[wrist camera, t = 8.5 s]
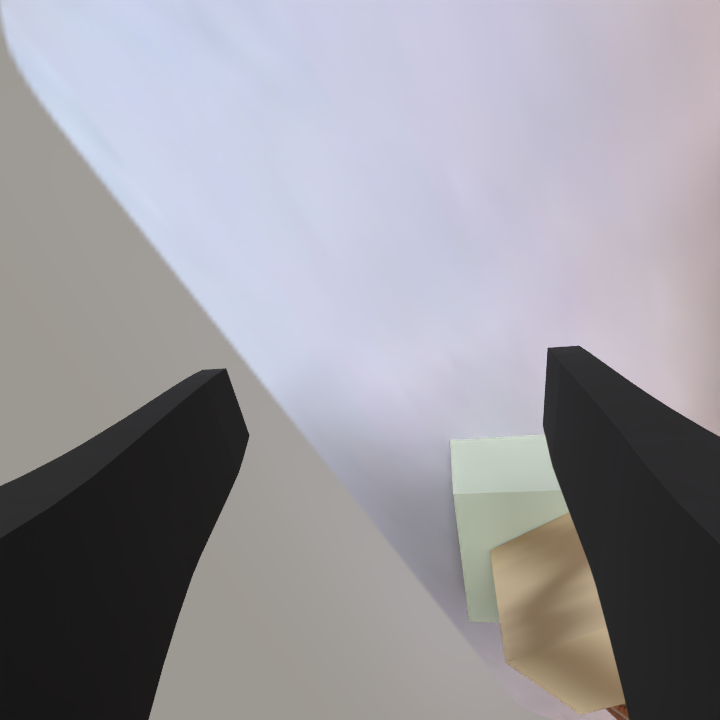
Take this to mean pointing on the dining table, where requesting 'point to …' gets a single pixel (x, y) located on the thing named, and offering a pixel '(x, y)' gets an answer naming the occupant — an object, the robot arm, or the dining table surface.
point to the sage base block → (499, 506)
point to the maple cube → (555, 617)
